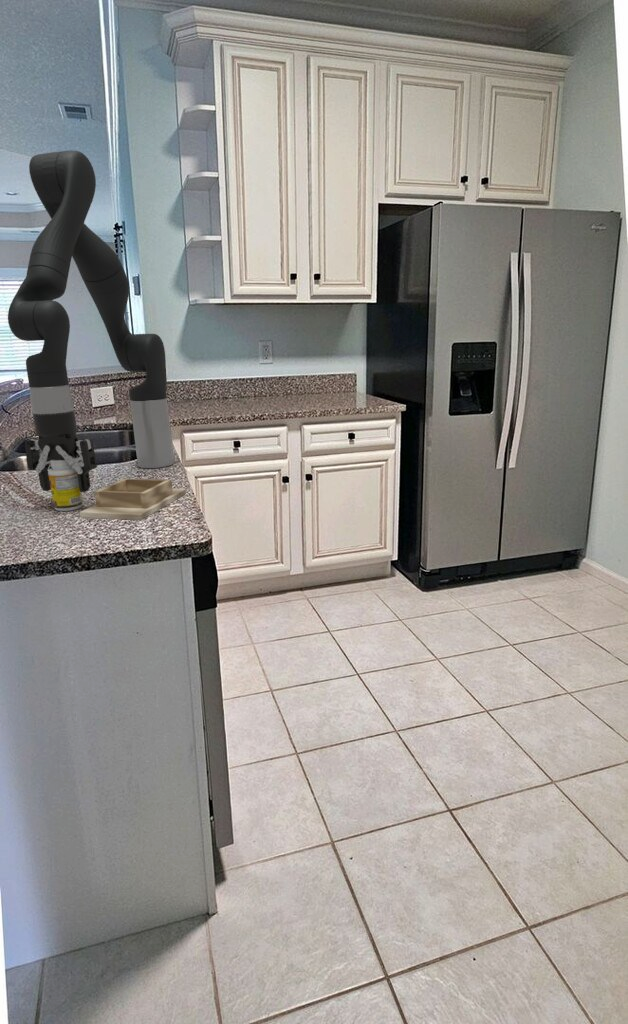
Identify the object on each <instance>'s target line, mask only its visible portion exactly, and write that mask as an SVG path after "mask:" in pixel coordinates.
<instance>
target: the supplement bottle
mask: <svg viewBox="0 0 628 1024" xmlns="http://www.w3.org/2000/svg"><path fill="white" fill-rule="evenodd" d="M50 461H51V465H50V467H51V468H49V469H48V475H49V481H50V487H51V490H50V491H51V492H50V493H51V499H52V503H53V508H54V510H56V511H57V512H58V511H59V512H70V511H74V510H77V509H80V508H82V507H83V505H84V502H83V494H82V492H80V490H79V483H78V477H77V474H79V473H78V472H77V471H76V470H75V469H74V467H73V466H70V465H69V464H68V463H67V461H66V460H50Z"/></svg>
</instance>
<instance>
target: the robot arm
mask: <svg viewBox="0 0 628 1024" xmlns="http://www.w3.org/2000/svg"><path fill="white" fill-rule="evenodd" d="M28 167H29V171H28V173H29V175H30V179H31V184H32V186H33V189H34V191H35V192H36V194H37V196H38V198H39V200H40V202H41V204H42V205H43V208H44V209H45V210H46V212H47V214H48V215H49V217H50V219H51V220H50V221H49V222H48V223H47V224H46V226H44V229H43V230H42V231H41V232H40V234H38V236H37V238H36V239H35V241H34V244H33V246H32V247H31V251H30V255H29V259H28V260H29V261H28V265H27V270H26V276H25V278H24V280H23V281H22V283H20V285H19V288H18V290H17V292H16V293H15V295H14V297H13V299H12V301H11V303H10V305H9V309H8V312H7V313H8V314H7V323H8V327H9V330H10V331H11V333H12V334H13V335H14V336H15V337H16V338H17V339H19V340H21V341H25V342H35V341H43V346H42V348H41V351H40V352H38V353H35V354H32V355H29V356H28V357H27V358H26V359H25V367H26V372H27V373H26V375H27V381H28V386H29V399H30V407H31V412H32V418H33V423H34V430H35V434H36V435H37V436H38V439H37V438H36V437H35V438H30V439H27V440H25V441H24V448H25V457H26V466H27V469H28V470H30V471H31V470H33V471H35V472H36V473H37V474H38V479H39V484H40V488H41V489H42V491H43V492H48V491H51V487H50V481H49V475H48V471H49V470H50V467H51V461H50V460H66V461H67V463H68V464H69V465H70V466H73V467H74V469H75V470H76V471H77V472H78V474H77V477H78V483H79V490H80V492H81V493H86V492H88V491H90V488H91V479H90V471H92V470H95V469H97V467H98V464H97V462H98V461H97V457H96V453H95V447H94V442H93V440H92V439H91V438H86V439H82V440H81V439H78V436H77V431H78V427H77V421H76V415H75V414H76V413H75V408H74V401H73V395H72V392H71V389H70V383H69V377H68V370H67V355H68V346H69V345H68V344H69V338H70V331H71V330H70V329H71V325H70V323H71V322H70V318H69V317H70V316H69V314H68V312H67V310H66V309H65V307H64V306H63V305H62V304H61V303H60V302H58V301H57V300H56V299H60V298H61V297H63V295H64V294H65V292H66V289H67V284H68V279H69V273H70V269H71V268H70V267H71V264H72V263H71V261H72V259H73V261H74V263H75V265H76V267H77V270H78V272H79V274H80V277H81V279H82V281H83V283H84V285H85V287H86V288H87V291H88V293H89V295H90V297H91V298H92V301H93V302H94V305H95V306H96V309H97V311H98V313H99V316H100V317H101V319H102V321H103V324H104V326H105V329H106V331H107V335H108V336H109V339H110V340H109V341H110V343H111V345H112V348H113V351H114V354H115V356H116V358H117V360H118V362H119V364H120V365H121V367H122V368H123V369H124V370H125V371H127V372H130V373H145V379H144V380H143V381H142V382H141V383H139V384H138V385H136V386H134V387H131V388H130V389H129V391H128V396H129V403H130V412H131V417H132V428H133V429H132V430H133V435H134V437H133V438H134V444H135V451H136V458H137V459H136V460H137V467H138V468H141V469H158V468H165V467H169V466H173V465H174V463H175V454H174V446H173V445H174V443H173V436H172V435H173V434H172V427H171V423H170V413H169V407H168V396H167V395H168V394H167V391H168V390H167V389H168V380H167V379H168V378H167V364H166V363H167V362H166V361H167V360H166V359H167V357H166V350H165V345H164V342H163V340H162V337H160V336H159V335H158V334H157V333H137V334H136V333H133V334H132V333H131V331H130V330H129V328H128V325H127V322H126V318H125V317H126V316H125V315H126V308H127V305H128V301H129V297H130V282H129V279H128V276H127V273H126V272H125V269H124V266H123V264H122V262H121V260H120V258H119V256H118V255H117V252H115V251H114V249H113V248H112V247H111V246H110V245H108V243H107V242H105V241H104V240H103V239H102V238H101V237H100V236H98V235H97V234H96V233H95V232H94V231H93V230H91V228H90V227H88V226H87V224H86V223H85V221H86V218H87V216H88V214H89V211H90V208H91V206H92V203H93V201H94V196H95V192H96V186H97V183H96V175H95V170H94V167H93V165H92V163H91V161H90V159H89V158H88V157H87V155H86V154H84V153H83V152H81V151H79V150H62V151H54V152H53V151H52V152H46V153H45V152H44V153H40V154H35V155H33V156H32V157H31V158H30V161H29V164H28ZM40 450H41V451H42V452H41V454H40ZM80 452H81V453H80Z"/></svg>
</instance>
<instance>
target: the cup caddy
mask: <svg viewBox="0 0 628 1024" xmlns="http://www.w3.org/2000/svg"><path fill="white" fill-rule="evenodd" d="M93 493H94V499H95V500H94V501H95V504H94V505H92V506H90V507H88V508H86V509H84V510H82V511H79V515H80V516H79V517H80V518H91V519H92V518H93V519H112V520H131V521H133V520H134V521H136V520H137V521H142V520H144V519H146V518H147V517H149V516H151V515H152V514H154V513H156V512H157V511H159V510H161V509H162V508H164V507H166V506H167V505H170V504H171V503H173V502H174V501H176V500H178V499H179V498H181V497H182V496H184V495H186V494H187V489H186V488H173V483H172V479H154V478H153V479H152V478H151V479H150V478H122V479H120V480H118V481H116V482H113V483H111V484H108V485H107V486H104V487H102V488H100V489H98V490H97V489H96V490H95V491H94V492H93Z"/></svg>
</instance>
